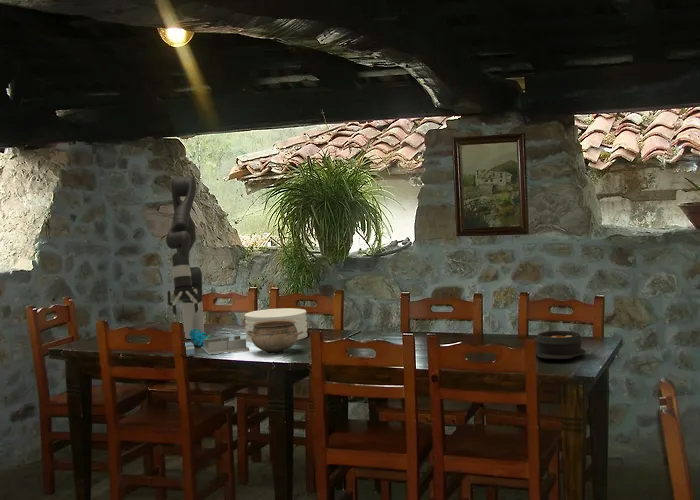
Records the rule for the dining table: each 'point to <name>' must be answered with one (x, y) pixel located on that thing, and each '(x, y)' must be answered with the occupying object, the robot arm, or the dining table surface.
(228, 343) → the plate
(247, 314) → the plate stack
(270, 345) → the cooking pot
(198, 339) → the gear
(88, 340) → the dining table surface
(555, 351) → the casserole
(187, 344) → the block
